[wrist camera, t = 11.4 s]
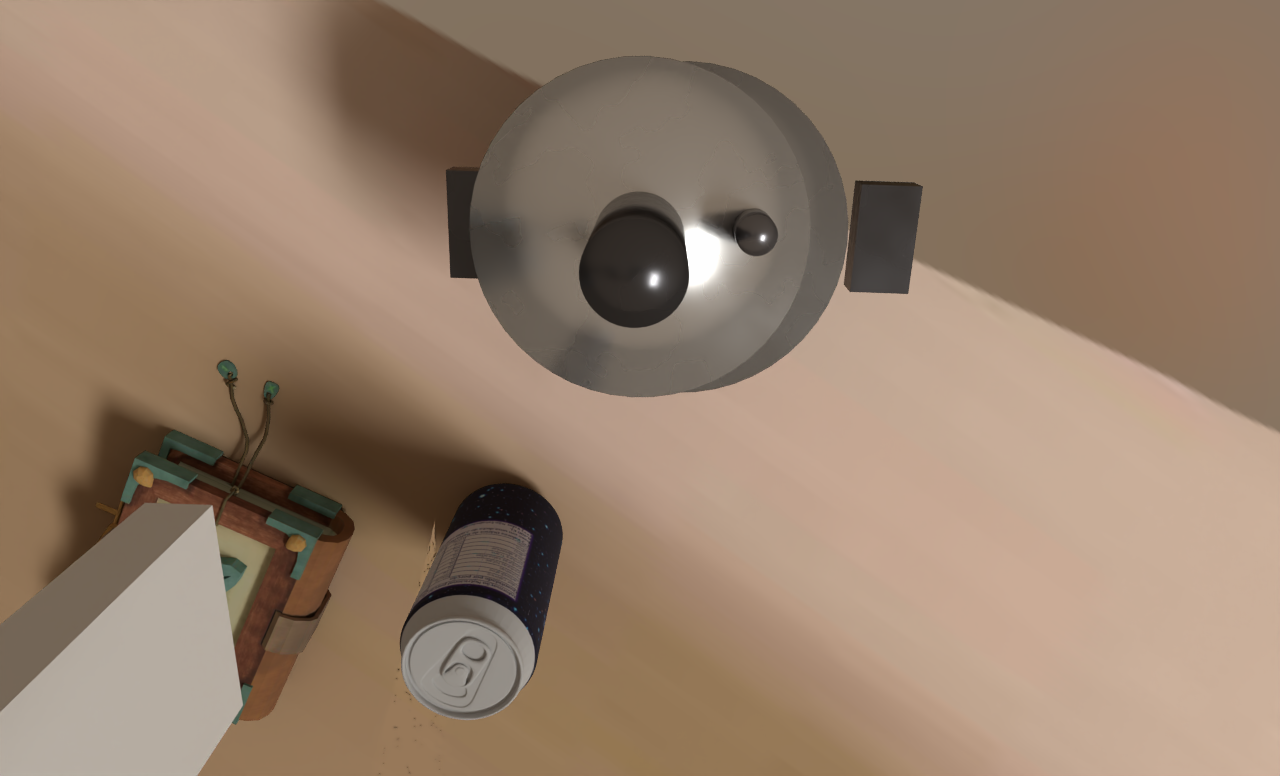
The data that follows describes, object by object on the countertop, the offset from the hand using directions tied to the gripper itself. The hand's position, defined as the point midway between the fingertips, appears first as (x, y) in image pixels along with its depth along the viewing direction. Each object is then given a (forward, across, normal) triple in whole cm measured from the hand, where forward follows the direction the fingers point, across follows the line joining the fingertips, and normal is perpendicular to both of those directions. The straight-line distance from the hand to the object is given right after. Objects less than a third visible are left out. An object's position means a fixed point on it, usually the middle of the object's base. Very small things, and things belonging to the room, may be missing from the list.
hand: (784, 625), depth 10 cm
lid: (+23, -2, 0) cm, 24 cm away
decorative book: (+33, -24, -17) cm, 44 cm away
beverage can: (+33, -9, -17) cm, 38 cm away
